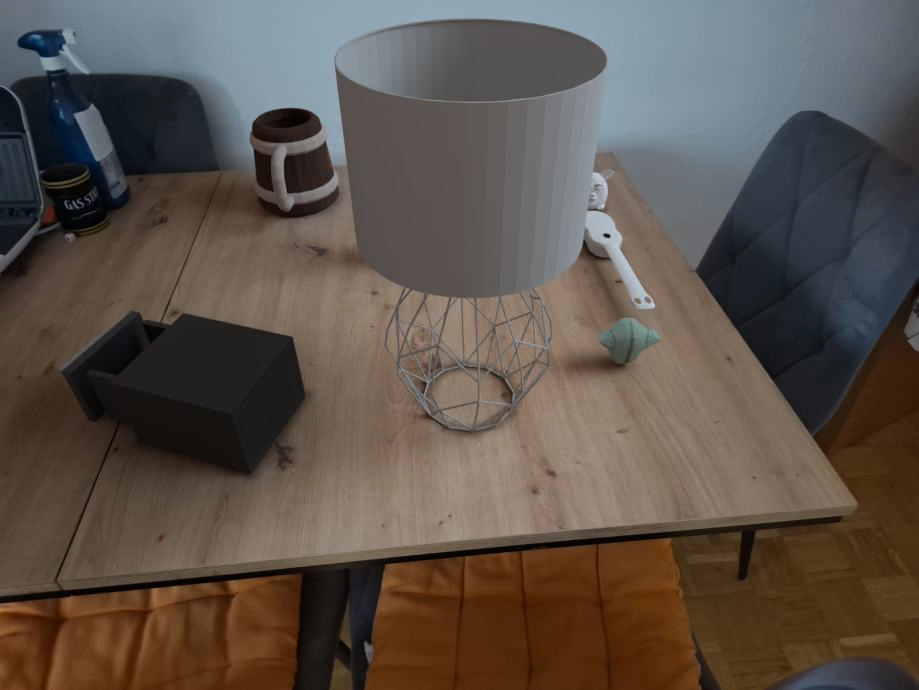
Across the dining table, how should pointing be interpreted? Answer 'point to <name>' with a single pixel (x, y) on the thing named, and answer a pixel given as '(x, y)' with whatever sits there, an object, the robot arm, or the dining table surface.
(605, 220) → the white toy ukulele
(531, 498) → the dining table surface
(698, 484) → the dining table surface
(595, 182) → the figurine
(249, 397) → the cabinet
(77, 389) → the drawer
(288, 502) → the dining table surface
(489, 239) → the table lamp
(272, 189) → the mug
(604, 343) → the green spinning top
